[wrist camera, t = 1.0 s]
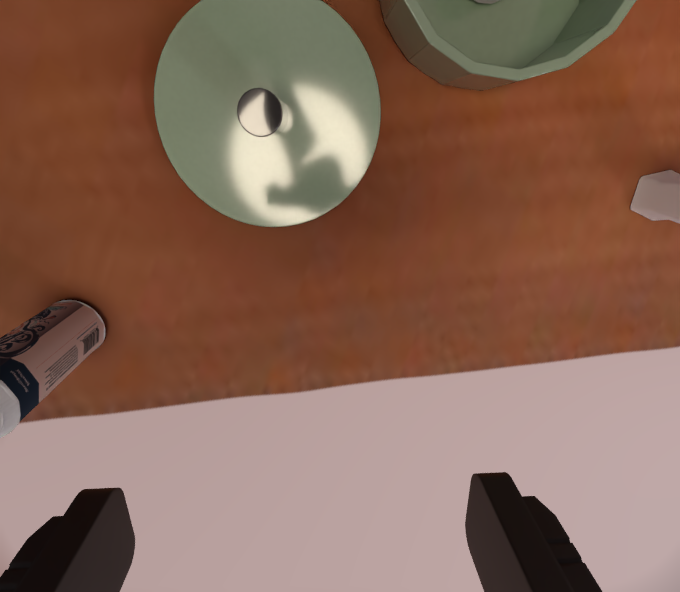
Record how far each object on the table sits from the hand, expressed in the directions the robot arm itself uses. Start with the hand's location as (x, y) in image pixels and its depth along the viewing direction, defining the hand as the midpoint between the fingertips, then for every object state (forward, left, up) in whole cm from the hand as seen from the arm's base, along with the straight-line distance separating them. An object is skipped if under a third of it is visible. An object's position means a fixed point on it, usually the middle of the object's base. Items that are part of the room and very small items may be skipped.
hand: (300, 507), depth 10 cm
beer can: (+1, -20, -25) cm, 32 cm away
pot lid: (-10, 0, -24) cm, 26 cm away
